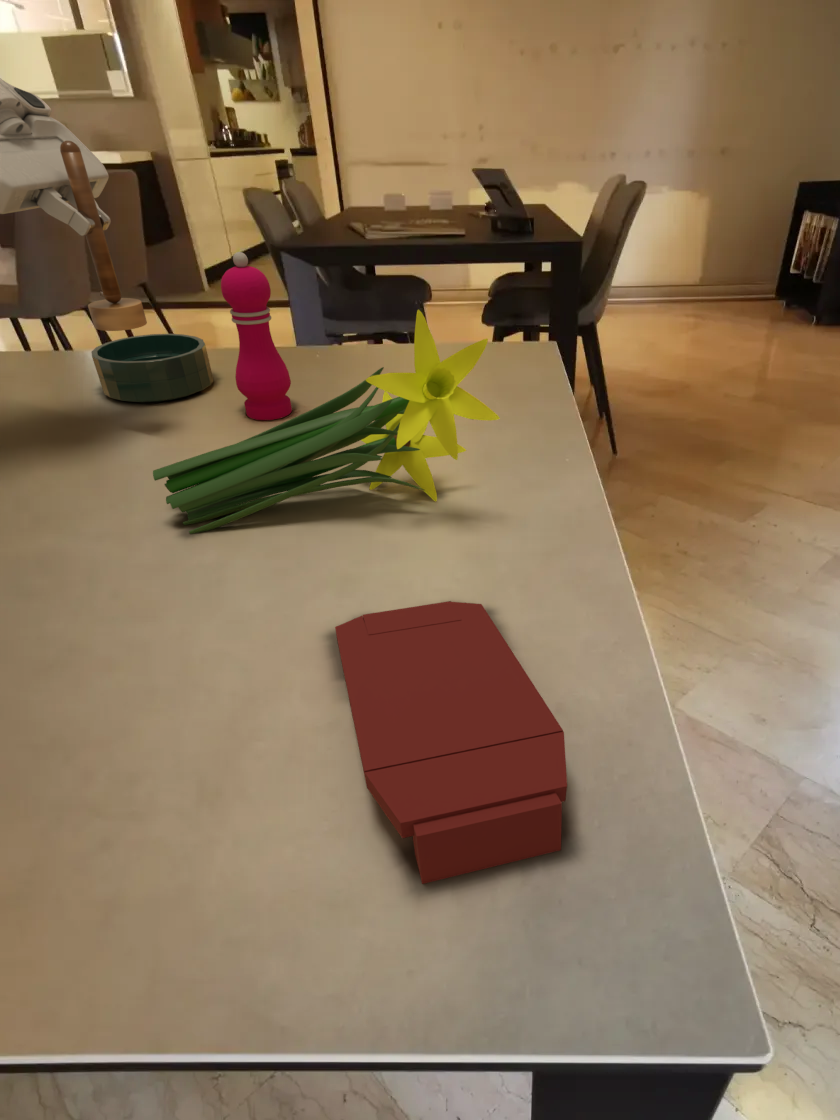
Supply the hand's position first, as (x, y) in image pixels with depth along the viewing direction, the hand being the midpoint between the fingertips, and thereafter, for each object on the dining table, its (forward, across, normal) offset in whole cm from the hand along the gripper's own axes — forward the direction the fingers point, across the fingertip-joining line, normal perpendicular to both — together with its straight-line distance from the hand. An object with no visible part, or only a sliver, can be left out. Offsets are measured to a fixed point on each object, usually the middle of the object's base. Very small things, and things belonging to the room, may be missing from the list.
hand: (98, 228), depth 80 cm
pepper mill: (+26, +7, +7) cm, 28 cm away
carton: (+50, -53, -16) cm, 74 cm away
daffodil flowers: (+38, -22, -5) cm, 44 cm away
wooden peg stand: (+7, 0, +8) cm, 10 cm away
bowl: (+12, +16, +21) cm, 29 cm away
